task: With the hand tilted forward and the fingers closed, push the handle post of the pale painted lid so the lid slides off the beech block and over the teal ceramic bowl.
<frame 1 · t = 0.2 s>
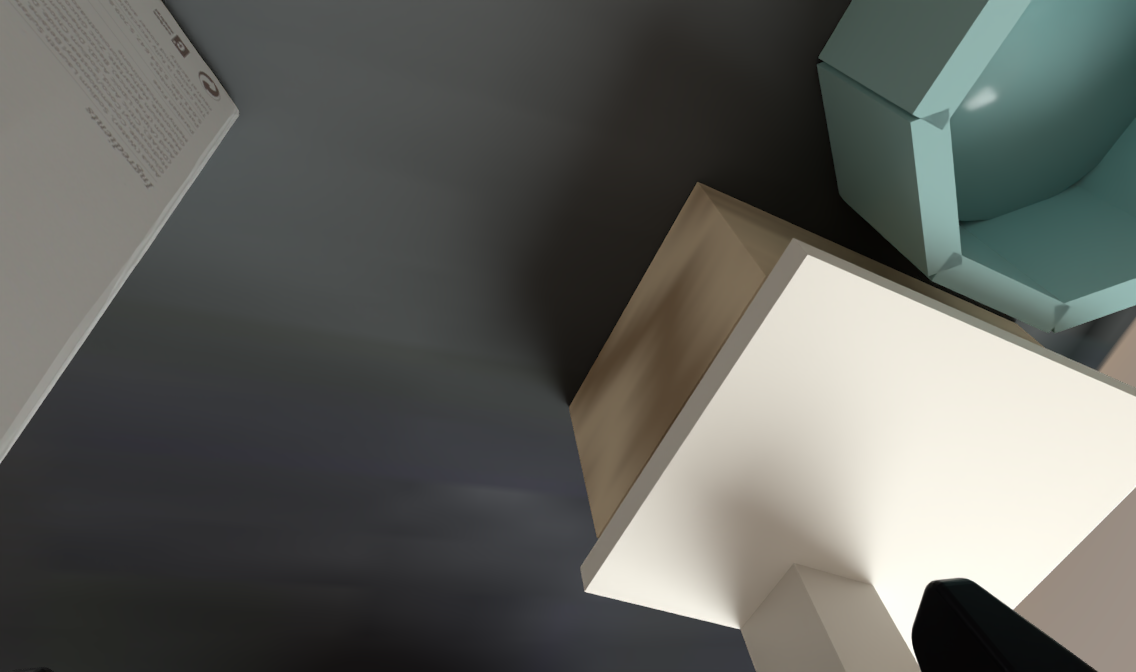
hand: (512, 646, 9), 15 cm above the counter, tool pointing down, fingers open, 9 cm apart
lid: (949, 599, 18), point 9 cm above the counter, slide at 0.0 cm
bowl: (1003, 67, 22), on the counter
block: (794, 365, 26), on the counter
skincare box: (24, 88, 19), on the counter
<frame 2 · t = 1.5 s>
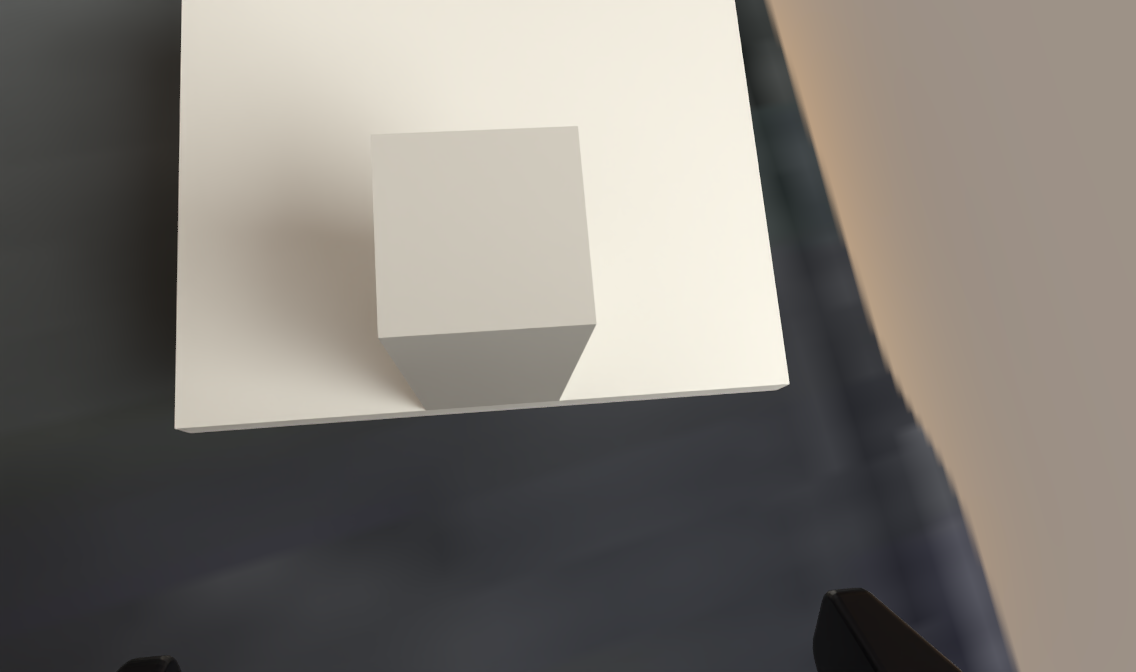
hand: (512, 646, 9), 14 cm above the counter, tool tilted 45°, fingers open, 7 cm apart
lid: (473, 100, 14), point 9 cm above the counter, slide at 0.0 cm
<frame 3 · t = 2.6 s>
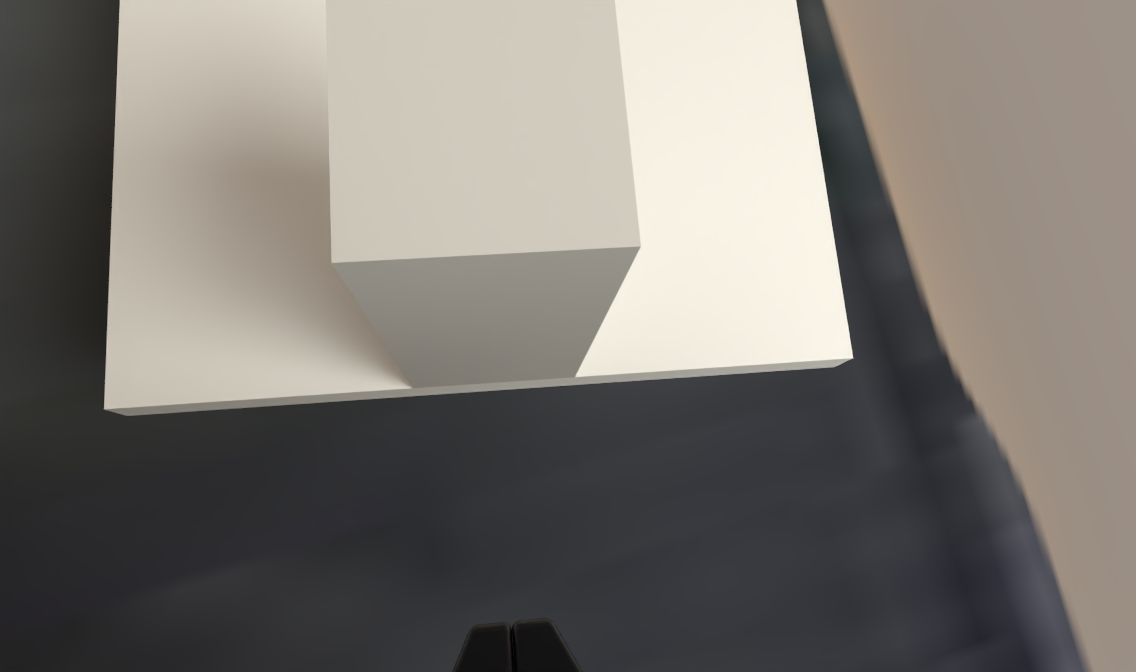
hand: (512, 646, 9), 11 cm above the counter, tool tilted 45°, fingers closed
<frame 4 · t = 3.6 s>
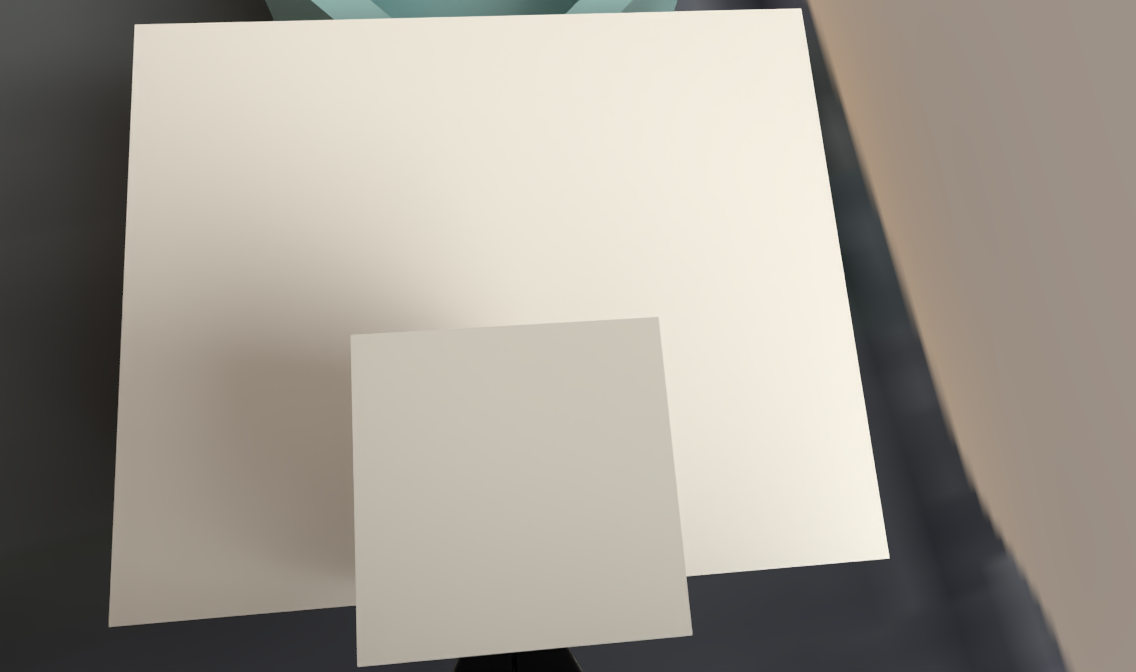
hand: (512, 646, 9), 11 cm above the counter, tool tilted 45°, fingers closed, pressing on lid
lid: (494, 217, 11), point 9 cm above the counter, slide at 0.1 cm, touching gripper
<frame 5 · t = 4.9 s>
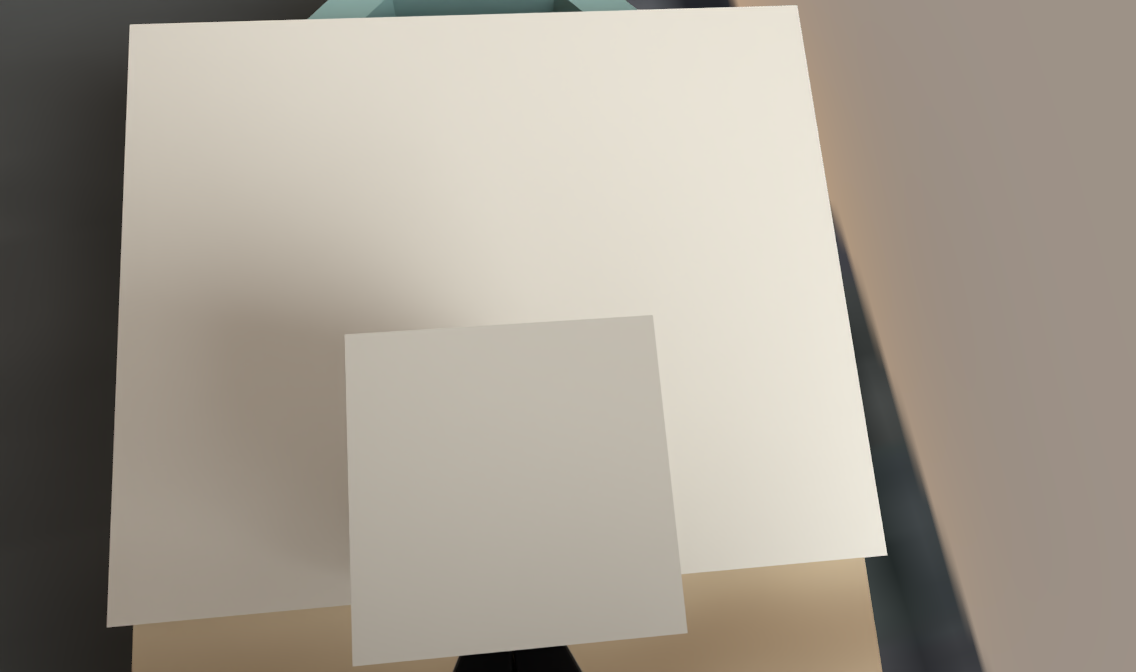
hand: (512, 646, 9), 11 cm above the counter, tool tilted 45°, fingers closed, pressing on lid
lid: (490, 216, 11), point 9 cm above the counter, slide at 7.5 cm, touching gripper
bowl: (490, 258, 21), on the counter
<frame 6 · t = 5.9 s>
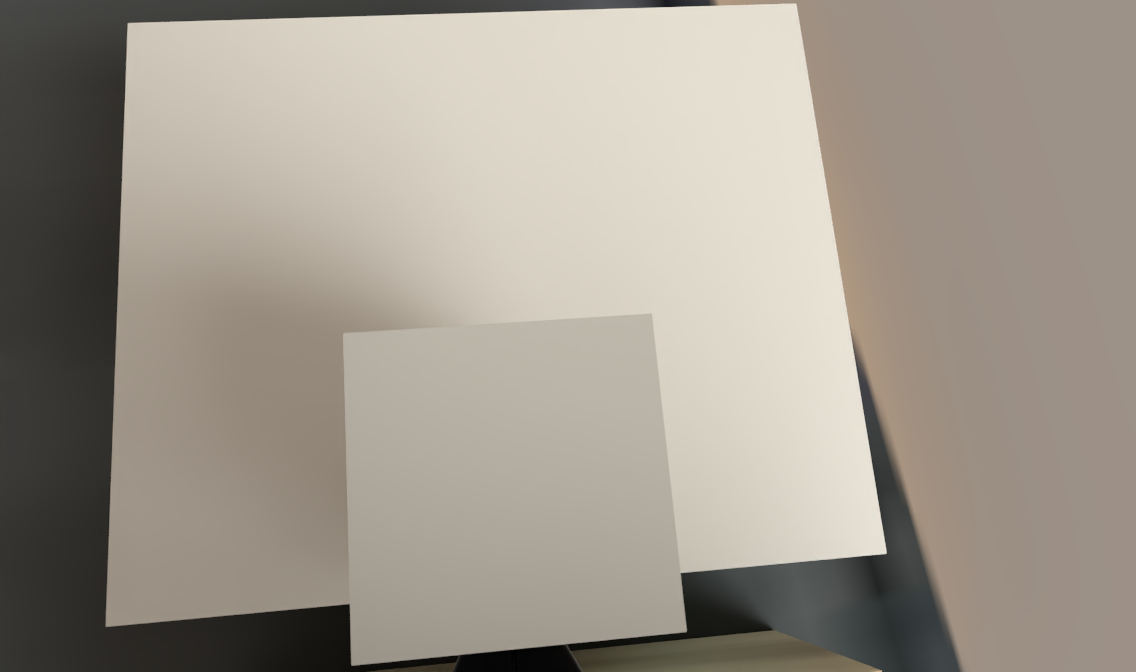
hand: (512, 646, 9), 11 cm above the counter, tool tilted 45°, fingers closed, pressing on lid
lid: (489, 215, 11), point 9 cm above the counter, slide at 10.9 cm, touching gripper
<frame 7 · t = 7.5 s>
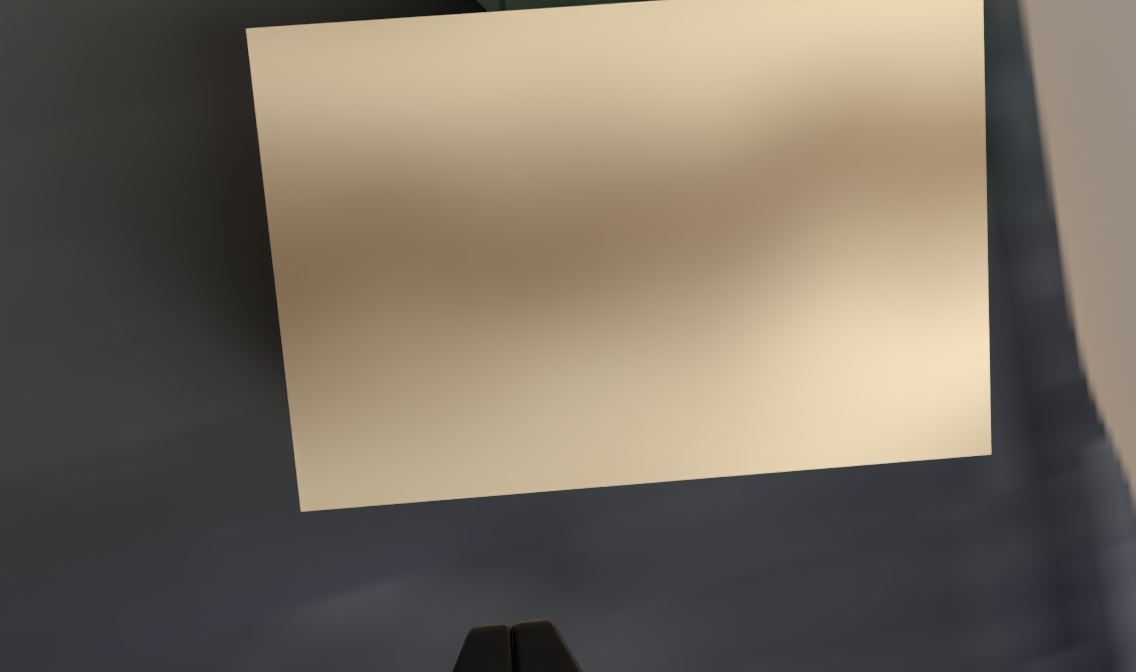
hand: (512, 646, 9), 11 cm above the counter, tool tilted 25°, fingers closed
block: (607, 249, 19), on the counter
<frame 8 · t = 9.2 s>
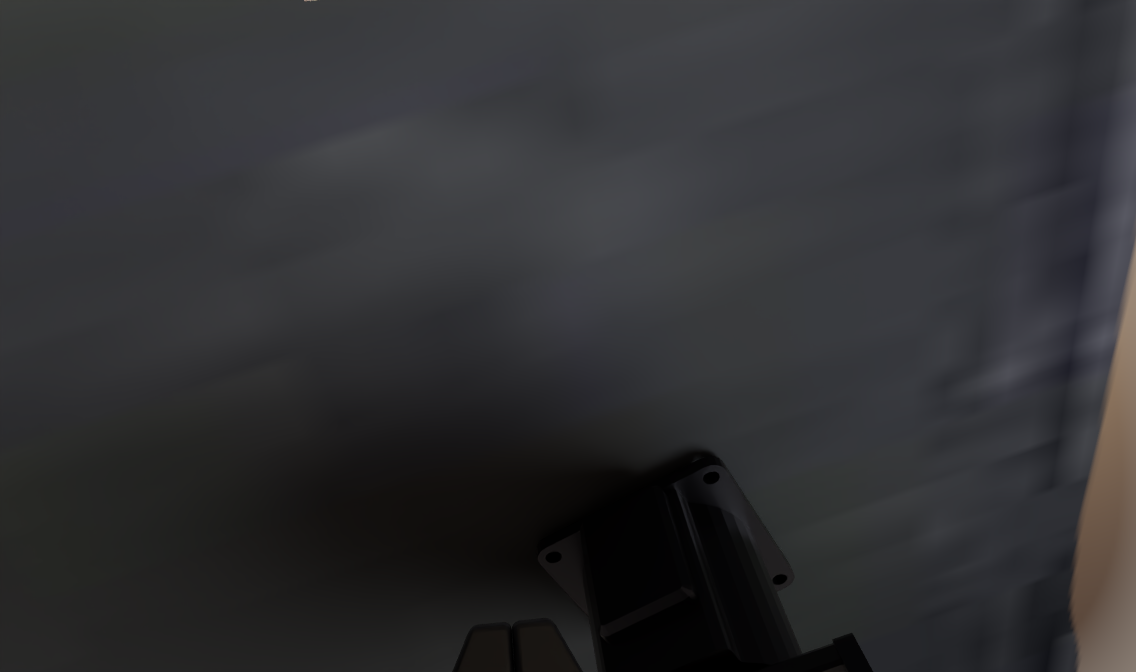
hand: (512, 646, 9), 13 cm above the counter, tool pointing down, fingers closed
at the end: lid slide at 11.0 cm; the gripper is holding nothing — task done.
